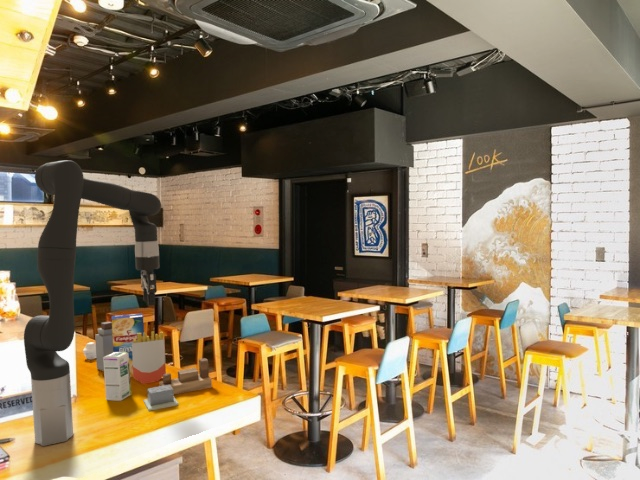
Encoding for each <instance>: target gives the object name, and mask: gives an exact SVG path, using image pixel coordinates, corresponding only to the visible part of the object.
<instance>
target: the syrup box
mask: <svg viewBox="0 0 640 480" xmlns="http://www.w3.org/2000/svg"><path fill="white" fill-rule="evenodd" d="M103 362H104V371H103V374H104V388H105V401H115V402H116V401H117V402H122V401H123V400H124V399H126V398H128V397H129V396H132V390H131V389H132V388H131V387H132V385H131V377H130V368H129V354H128V352H113V353H112V354H109V355H107V356H105V357H103Z"/></svg>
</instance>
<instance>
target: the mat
mask: <svg viewBox="0 0 640 480" xmlns="http://www.w3.org/2000/svg"><path fill="white" fill-rule="evenodd" d="M143 404H144V405H145V406H146V409H147V411H148V412H150V411H155V410H156V411H157V410H159V409H160V410H161V409H165V408H170V407H174V406H179V405H180V404H179V401H177V399H176V398H175V397H174V402H169V403H164V404H159V405H154V406H150V404H149V402H148V398H145V399H143Z"/></svg>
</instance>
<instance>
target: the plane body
mask: <svg viewBox="0 0 640 480" xmlns="http://www.w3.org/2000/svg"><path fill="white" fill-rule="evenodd" d="M198 368H199V370H198V369H197V368H196V367H193V368H188V369H182V370H177V378H173V379H172V373H169V372H168V373H167V372H166V374H163V377H162V380H161V381H160V380H159V381H158V382H159V383H158V384H159V385H158V387H159V386H165V385H171V387H172V388H173V394H175V395H179V393H180V394H183V393H184V394H185V393H190V392H195V391H200V390H205V389H210V388H212V386H213V385H212V378H211V377H210V375H209V373H210V372H209V359H207V358H205V357H202V358H199V359H198Z"/></svg>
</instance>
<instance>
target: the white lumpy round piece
mask: <svg viewBox="0 0 640 480" xmlns="http://www.w3.org/2000/svg"><path fill="white" fill-rule="evenodd" d="M82 354H83V355H84V357H85V358H86V360H95V359H96V342H95V341H93V342H91V341H90V342H88V343H86V345H85V347H84V348H83V350H82Z"/></svg>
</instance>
